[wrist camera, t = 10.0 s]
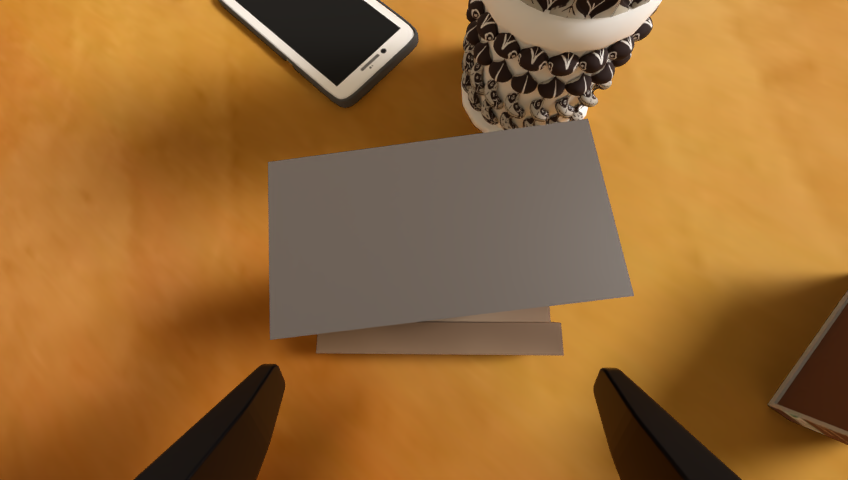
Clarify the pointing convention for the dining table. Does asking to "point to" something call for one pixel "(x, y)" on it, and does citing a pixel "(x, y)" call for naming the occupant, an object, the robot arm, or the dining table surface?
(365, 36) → the cell phone
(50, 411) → the dining table surface
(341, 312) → the grey rectangular box
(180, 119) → the dining table surface
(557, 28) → the decorative candle
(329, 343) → the tray
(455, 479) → the dining table surface
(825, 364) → the food container
